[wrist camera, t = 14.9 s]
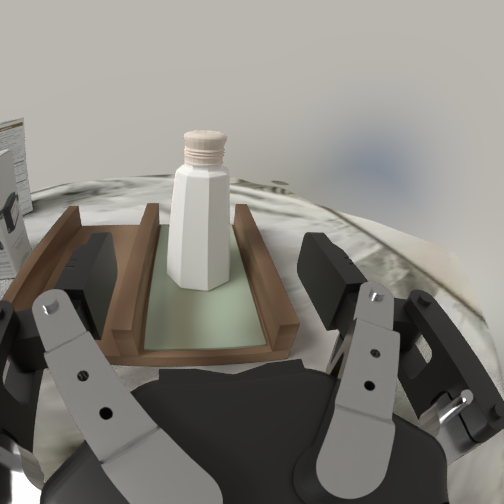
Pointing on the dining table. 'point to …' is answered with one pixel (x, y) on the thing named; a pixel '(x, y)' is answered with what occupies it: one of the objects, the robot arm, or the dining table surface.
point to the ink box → (11, 221)
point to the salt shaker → (200, 215)
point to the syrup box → (17, 159)
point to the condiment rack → (172, 296)
